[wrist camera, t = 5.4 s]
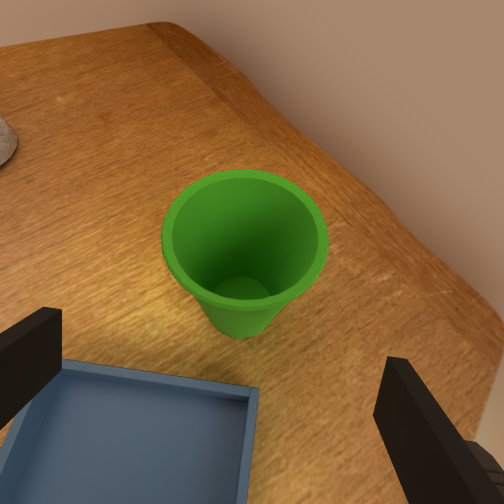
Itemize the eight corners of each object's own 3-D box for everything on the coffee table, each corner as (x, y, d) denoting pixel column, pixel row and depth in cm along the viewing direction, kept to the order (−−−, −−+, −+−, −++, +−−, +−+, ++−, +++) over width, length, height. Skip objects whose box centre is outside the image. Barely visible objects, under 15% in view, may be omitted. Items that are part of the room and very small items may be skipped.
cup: (290, 375, 26) (324, 324, 17) (169, 352, 26) (135, 290, 17) (302, 268, 31) (334, 181, 21) (198, 250, 31) (185, 157, 22)
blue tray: (256, 395, 25) (259, 388, 23) (224, 665, 18) (224, 698, 16) (60, 366, 26) (41, 355, 23) (-43, 620, 19) (-86, 645, 16)
